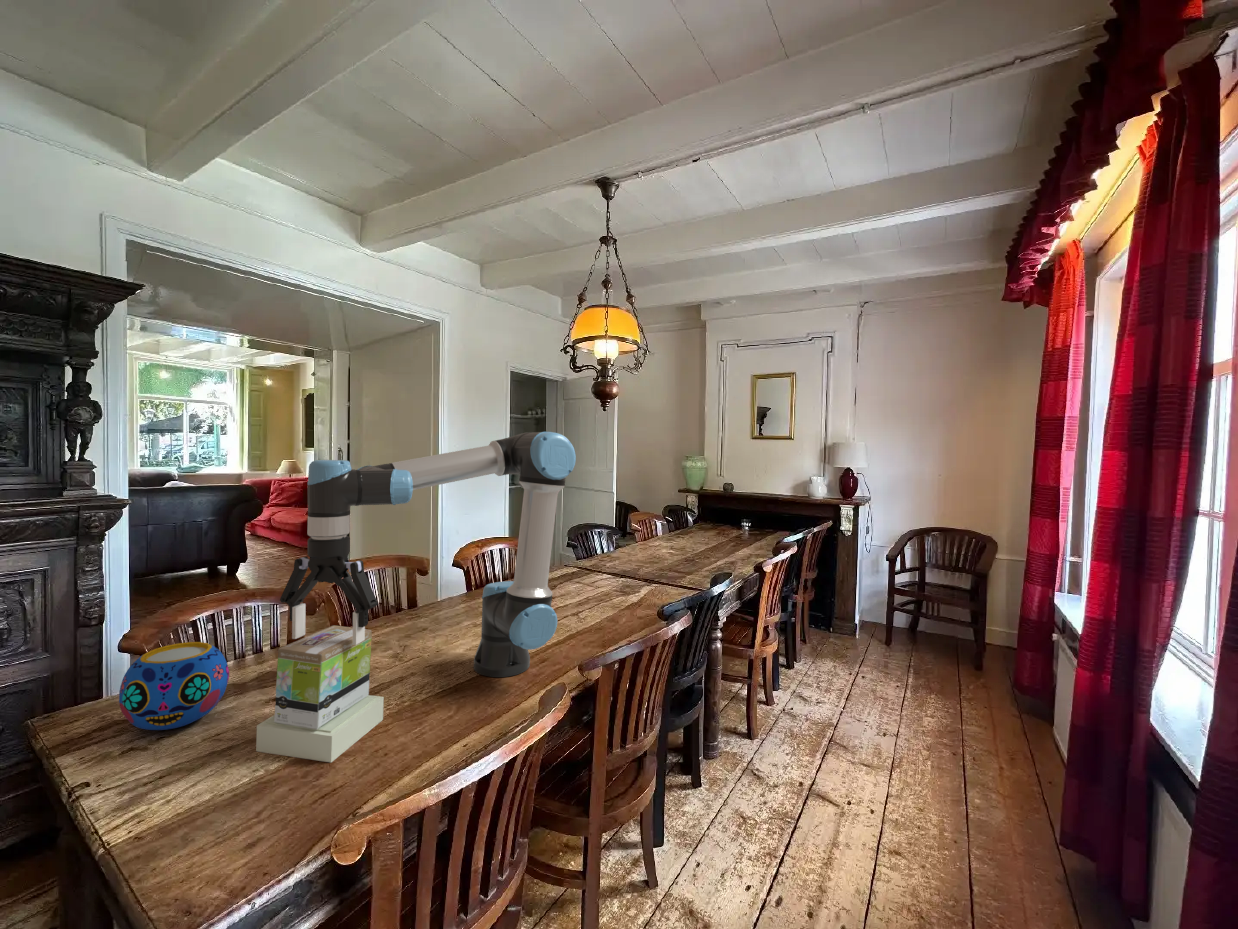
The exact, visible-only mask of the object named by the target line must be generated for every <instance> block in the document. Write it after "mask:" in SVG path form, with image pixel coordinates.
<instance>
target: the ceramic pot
mask: <svg viewBox="0 0 1238 929" xmlns="http://www.w3.org/2000/svg"><path fill="white" fill-rule="evenodd" d="M229 678H230V670H229V666H228V661H227V660H226V658H225V656H224V654H223V653H222V651H221V650H220V649H218V647H216V646H214V645H212V644H210V643H208V642H202V641H189V642H188V641H187V642H179V643H173V644H168V645H165V646H164V645H163V646H161V647H157V648H154V649H151V650H149V651H147V652H146V653H144V654H142V655H140V656H139V657H138V658H137V659H136V660H135V661H134V662H133V663H132V664H131V665H130V666H129V667H128V669H127V670H126V672H125V673H124V675H123V678H122V681H121V683H120V687H119V694H118V703H119V707H120V711H121V713H122V715H123V717H124V718H125V719H126V720H127V721H128V722H129V723H130V724H131V725H133V726H134V727H136V728H139V729H142V730H149V731H166V730H172V729H177V728H181V727H184V726H187V725H189V724H191V723H193V722H196V721H198V720H200V719H202V718H203V717H204V716H206V715H208V714H209V713H210V712H211V711H212V710H213V709H214V708H215V707H217V705H218V704H219V703H220V701H221V699H222V698H223V697H224V694H225V692H226V690H227V688H228V687H227V686H228V683H229Z"/></svg>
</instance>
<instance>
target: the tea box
mask: <svg viewBox="0 0 1238 929" xmlns="http://www.w3.org/2000/svg"><path fill="white" fill-rule="evenodd" d="M372 634H373V632H372V629H366V628H365V640H364V641H362V642H360V643H358V644H357V645H353V627H349V626H342V625H331V626H329V627H326V628H324V629H321V630H319V631H317V632H314V633H312V634H310V635H307V636H305V637H303V638H300V639H298V640H296V641H293V642H290V643H289V644H285V645H283V646H281V647H279V648H278V652H277V653H278V655H277V669H276V685H275V703H274V704H275V705H274V715H275V718H274V722H276V723H280V724H285V725H291V726H297V727H303V728H309V729H316V730H317V729H318V728H320V727H321V726H322V725H324V724H325V723H327V722H328V721H330V720H331V719H333V718H334V717H336V716H337V715H339V714H340V713H342V712H343V711H345V710H346V709H348V708H350V707H351V706H353V705H354V704H356V703H357V702H359V701H361V700H362V699H364V698H365V697H367V696H368V695H370V674H371V656H372V636H373V635H372Z"/></svg>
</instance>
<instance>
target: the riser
mask: <svg viewBox="0 0 1238 929" xmlns="http://www.w3.org/2000/svg"><path fill="white" fill-rule="evenodd" d="M384 698H385V697H384V696H379V695H370V694H369V695H368V696H367V697H365V698H364V699H362V700H361V701H359V702H357V703H356V704H354V705H353V706H351V707H350V708H348V709H346V710H345V711H343V712H342V713H340V714H339V715H337V716H336V717H334V718H333V719H331V720H330V721H328V722H327V723H325V724H324V725H322V726H321V727H320V728H318V729H317V730H316V729H309V728H303V727H297V726H291V725H285V724H280V723H276V722H274V718H275V714H274V715H272V716H271V717H268V718H267V719H265V720H264V721H262V722H260V723H259V724H257V725H256V739H255V740H256V741H255V742H256V746H255V748H256V749H255V752H259V753H265V754H272V755H279V756H285V757H286V756H287V757H293V758H298V759H303V760H304V759H305V760H312V761H319V762H323V763H324V762H325V763H333V762H334V761H335V760H336V759H337V758H339V757H340V756H341V755H342V754H344V753H345V752H346V751H347V750H348V749H350V748H351V747H352V746H353V745H354V744H356V743H357V742H358V741H359V740H360V739H362V738H363V737H364V736H365V735H366V734H367V733H369V732H370V731H371V730H372V729H373V728H375V727H376V726H377V725H379V724H380V723H381V722H382V721H383V720H384Z"/></svg>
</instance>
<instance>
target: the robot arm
mask: <svg viewBox="0 0 1238 929" xmlns="http://www.w3.org/2000/svg"><path fill="white" fill-rule="evenodd" d="M575 451H576V450H575V448H574V445H573V444H572V442H571V441H570V440H569V439H568V438H567V437H566V436H565V435H563V434H562V433H558V432H553V431H535V432H533V431H528V432H524V433H523V432H522V433H518V434H515V435H512V436H509V437H508V436H507V437H506V438H501V439H497V440H492V441H490V442H489V444H488V445H483V446H478V447H473V448H467V449H461V450H455V451H450V452H445V453H438V454H433V455H427V456H422V457H416V458H411V459H405V460H400V461H393V462H390V463H383V464H378V465H370V464H369V465H364V466H360V467H358V468H357V469H352V466H351V462H350V461H349V460H346V459H318V460H317V459H315V460H313V461H311V462H310V463H309V465H308V475H307V476H308V477H307V478H308V479H307V530H306V531H307V534H306V535H307V536H308V537H309V538H308V539H307V556H303V557H299V558H296V559H294V563H293V570H292V573H291V575H290V577H289V579H288V580H287V582H286V585H285V588H284V590H283V592H282V594H281V596H280V598H279V601H280V603H282V604H283V603H286V604H287V606H289V621H290V622H292V623H291V633H292V634H291V639H292V640H297V639H299V638H301V637H304V636H305V635H306V607H307V605H306V603H303V602H305V598H306V597H307V596H308V595H309V594H310V592H311V591H312V590H313V589H314V587H315V586H317V584H318V583H327V584H333V583H334V584H335V586H337V587H339V588H340V589H341V590H342V592H343V593H344V595H345V596H346V597H347V599H348V600H349V602H350V603H351V605H352V606H353V607H354V608H355V611H353V612H352V628H353V645H357V644H358V643H360V642H362V641H364V640H365V629H366V626H367V625H369V624H368V623H369V610H372V609H373V608H375V607H377V606H378V605H379V602H378V600H377V598H376V595H375V593H374V590H373V589H372V586H371V583H370V581H369V579H368V577H367V574H366V572H365V566H364V561H363V560H361V559H359V560H357V561H349V554H350V552H351V538H350V536H349V534H350V533H351V524H350V523H351V507H353V506H354V507H355V506H356V507H359V506H379V505H380V506H382V505H383V506H385V505H388V506H390V505H392V506H396V505H400V504H401V505H403V504H407V503H409V502H410V501H411V500H412V497H413V493H414V492H413V491H415V490H419V489H420V490H421V489H426V488H429V487H435V486H438V485H443V484H444V485H445V484H450V483H454V482H459V481H464V480H468V479H473V478H479V477H483V476H489V475H493V474H494V475H496V476H498V477H502V476H506V475H519V480H518V483H519V484H520V485H521V486H522V488H523V496H522V497H523V498H522V506H521V515H520V524H519V533H518V534H519V535H518V540H517V549H516V551H517V552H516V560H515V569H514V575H513V576H514V577H513V580H509V581H508V580H506V581H496V582H490V583H488V584H485V586H484V587H483V591H482V596H481V599H482V602H481V603H482V604H481V605H482V606H481V635H480V636H481V637H480V641H479V644H478V645H477V646H478V647H477V650H476V652H475V655H474V658H473V670H474V671H475V672H476V673H477V674H479V675H481V676H484V677H491V678H506V677H513V676H516V675H519V674H522V673H524V672H526V671H527V670H528V669H529V668H530V666H531V664H530V663H531V656H530V652H529V650H531V651H532V650H537V649H540V648H541V647H543V646H545V645H546V644H547V643H548V641H550V640H552V638H553V636H554V634H555V633H556V631H557V626H558V615H557V613H556V612H555V610H554V609H553V607H552V603H553V602H552V600H553V591H552V590H551V589H550V587H549V585H548V584H549V576H550V568H551V567H550V565H551V557H552V549H553V548H552V547H553V538H554V531H555V523H556V511H557V504H558V495H559V492H560V491H562V490H563V489H565V486H566V485H565V484H566V479H567V477H568V476H569V475H570V474H571V473H572V472H573V470H574V468H575V466H576V460H577V457H576V452H575ZM308 569H309V570H310V573H309V574H308V575H307V576H306V578H305V575H306V573H307V571H308ZM304 578H305V580H304ZM303 580H304V581H303ZM302 581H303V583H302Z"/></svg>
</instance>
